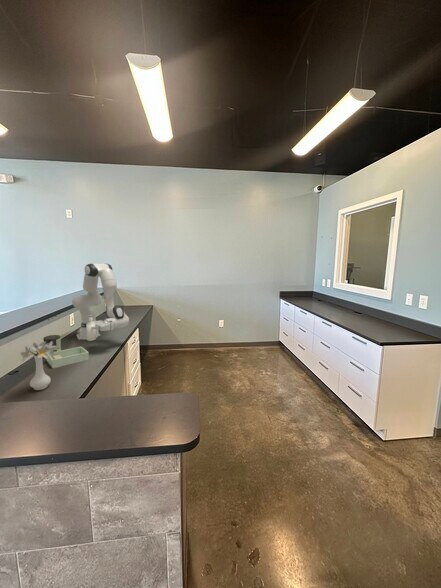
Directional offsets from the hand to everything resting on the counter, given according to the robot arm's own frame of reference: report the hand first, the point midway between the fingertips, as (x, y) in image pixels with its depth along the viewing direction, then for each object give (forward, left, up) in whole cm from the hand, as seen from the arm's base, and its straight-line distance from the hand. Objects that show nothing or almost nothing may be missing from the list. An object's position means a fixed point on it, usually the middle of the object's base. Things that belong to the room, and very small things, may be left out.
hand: (89, 327), depth 186 cm
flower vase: (+35, -38, -20) cm, 55 cm away
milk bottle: (0, +1, -10) cm, 10 cm away
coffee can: (-12, -22, -20) cm, 32 cm away
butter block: (+6, -23, -19) cm, 30 cm away
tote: (+6, -17, -20) cm, 27 cm away
